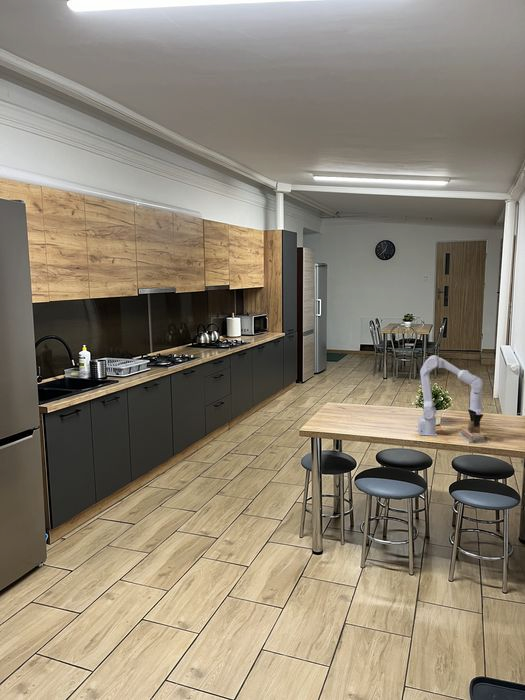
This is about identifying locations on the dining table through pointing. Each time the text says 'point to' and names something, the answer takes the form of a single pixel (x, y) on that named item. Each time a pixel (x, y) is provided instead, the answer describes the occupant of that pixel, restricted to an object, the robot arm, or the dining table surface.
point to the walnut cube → (472, 428)
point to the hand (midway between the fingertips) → (474, 424)
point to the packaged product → (472, 436)
